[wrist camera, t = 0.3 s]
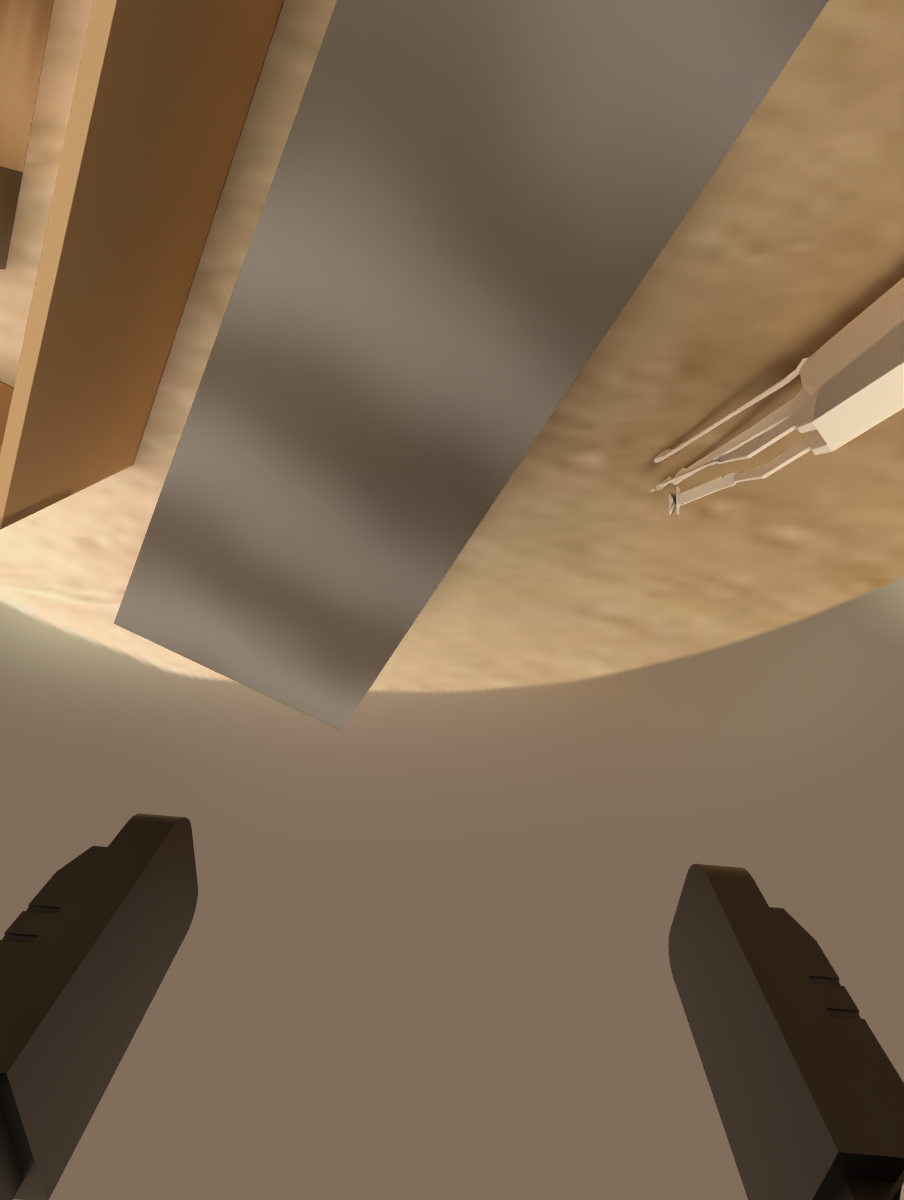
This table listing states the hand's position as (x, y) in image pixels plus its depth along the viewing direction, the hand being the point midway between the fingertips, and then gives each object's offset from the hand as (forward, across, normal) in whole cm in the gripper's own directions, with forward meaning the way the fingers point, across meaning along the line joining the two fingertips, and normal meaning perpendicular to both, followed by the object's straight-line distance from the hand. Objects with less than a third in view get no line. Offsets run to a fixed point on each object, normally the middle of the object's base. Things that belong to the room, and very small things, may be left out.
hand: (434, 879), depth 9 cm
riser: (+21, +3, -9) cm, 23 cm away
